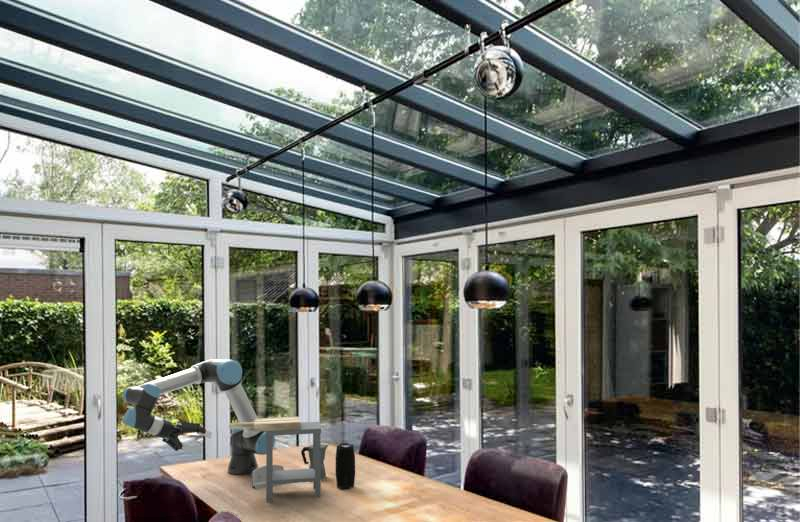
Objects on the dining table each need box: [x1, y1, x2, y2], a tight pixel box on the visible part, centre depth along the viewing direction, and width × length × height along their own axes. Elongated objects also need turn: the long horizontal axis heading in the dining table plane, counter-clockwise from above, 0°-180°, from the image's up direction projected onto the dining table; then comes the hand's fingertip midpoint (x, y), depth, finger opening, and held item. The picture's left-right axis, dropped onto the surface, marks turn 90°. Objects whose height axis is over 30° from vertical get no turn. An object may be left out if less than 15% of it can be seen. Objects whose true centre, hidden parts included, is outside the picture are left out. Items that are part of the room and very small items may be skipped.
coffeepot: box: [300, 443, 329, 480], centre depth 306 cm, size 15×9×18 cm, turn 129°
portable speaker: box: [335, 442, 356, 491], centre depth 287 cm, size 9×9×20 cm
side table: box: [265, 421, 322, 503], centre depth 279 cm, size 18×24×30 cm
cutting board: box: [228, 416, 301, 432], centre depth 277 cm, size 16×31×3 cm, turn 101°
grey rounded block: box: [251, 464, 285, 490], centre depth 295 cm, size 17×5×10 cm, turn 123°
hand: (203, 443), depth 281 cm, fingers open, 13 cm apart
